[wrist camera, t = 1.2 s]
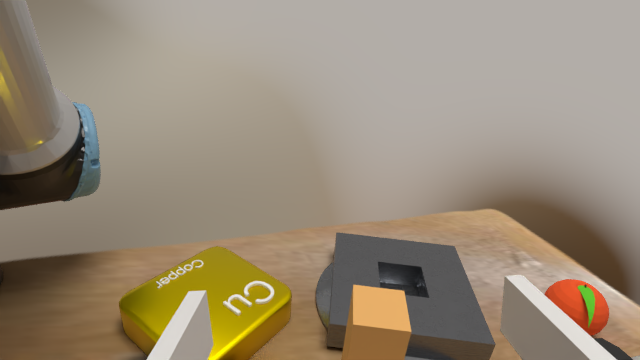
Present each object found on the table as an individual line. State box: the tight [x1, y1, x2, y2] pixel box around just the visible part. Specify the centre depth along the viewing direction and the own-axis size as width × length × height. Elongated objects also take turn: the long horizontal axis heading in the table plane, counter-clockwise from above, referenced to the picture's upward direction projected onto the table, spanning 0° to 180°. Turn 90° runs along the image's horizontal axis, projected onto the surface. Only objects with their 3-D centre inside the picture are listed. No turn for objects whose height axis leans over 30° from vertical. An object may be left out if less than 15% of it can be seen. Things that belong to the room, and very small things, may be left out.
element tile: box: [119, 246, 292, 360], centre depth 44 cm, size 15×15×5 cm
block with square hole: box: [316, 233, 495, 360], centre depth 49 cm, size 22×22×4 cm
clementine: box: [545, 279, 609, 336], centre depth 46 cm, size 8×7×7 cm
